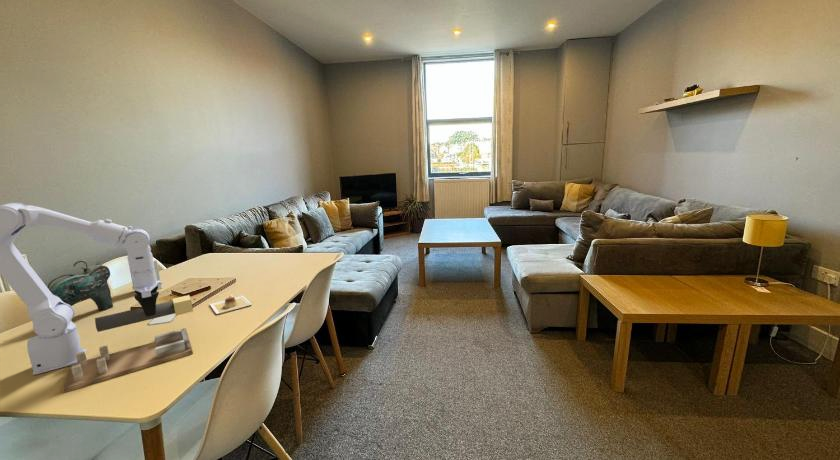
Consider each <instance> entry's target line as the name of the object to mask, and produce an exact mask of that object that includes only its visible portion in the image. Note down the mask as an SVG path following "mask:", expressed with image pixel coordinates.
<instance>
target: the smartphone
mask: <svg viewBox="0 0 840 460" xmlns="http://www.w3.org/2000/svg"><path fill="white" fill-rule="evenodd" d="M178 316H179V315H176V314H170V315H166V316H162V317H158V318H154V319H150V321H149V322H148V323H147V326H155V325H159V324H160V325H161V324H163V325H164V324H170V323H172V322H173V321H174V320H175V319H176V318H177V317H178Z"/></svg>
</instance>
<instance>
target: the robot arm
mask: <svg viewBox="0 0 840 460" xmlns="http://www.w3.org/2000/svg"><path fill="white" fill-rule="evenodd" d="M36 226H49V227H50V226H51V227H55V228H58V229H59V228H61V229H65V230H69V231H70V230H71V231H75V232H79V233H84V234H86V235H87V236H88V238H90V240H92V241H97V242H101V243H105V244H110V245H114V246H118V247H122V246H123V248H124V249H125V250H126V252H127V257H126V258H127V261H128V263H127V264H128V266H129V272H130V278H131V283H132V286H131V288H132V290H134V292H135V293H136V294H135V295H134V299H135V300H136V301H137V302H138V303H139V305H140V306H141V308H143V311H144V313H145V315H146V316H152V315H155V313H156V304H157V299H158V297H159V294H160V292H159V291H158V290H159V289H158V285H159V284H161V285H162V284H163V281H162V279H160V281H157V278H156V273H155V267H154V261H153V260H154V256H153V253H152V252H151V251H152V248H151V246H150V241H151V238H150V234H149V233H148V232H147V231H146V230H144V229H142V228H140V227H134V228H133V226H132V225H128V226H125V225H121V224H117V223H114V222H113V220H111V219H108V218H106V219H105V220H103V219H97V220H95V221H89V220H85V219H82V218H79V217H76V216H73V215H69V214H67V213H66V214H65V213H62V212H58V211H56V210H51V209H49V208H46V207H45V208H44V207H41V206H36V205H30V204H28V205H27V204H24V203H21V202H8V203H4V204H2V205H0V276H2V278H3V279H4V281H5V282H6V283H7V284H8V286H10V288H11V289H12V290H13V291H14V293H15V294H16V295H17V296H18V297H19V299H20V300H21V301H22V302H23V304H25V306H26V307H27V312H28V313H27V314H28V318H29V319H30V320H31V321H32V329H33V331H34V333H35V334H36V336H33V337H30V338H28V339H27V344H26V345H27V346H26V347H27V353H28V357H29V361H30V364H31V369H32V371H33V372H32V375H33V376H35V375H40V374H43V373H46V372H50V371H54V370H57V369H60V368H65V367H68V366H71V365H72V364H75V363H78V362H77V358H76V354H77V353H80V352H83V351H85V355H86V353H87V349H86V348H84V349H82V344H81V340H80V335H79V331H78V327H77V324H76V323H74V322H73V321H72V319H73V318H74V317H75V315H76V314H75V313H76V311H75V309H74V307H73V306H70V305H69V304H66V303H64V302H63V301H62V300H61V299H60V298H59V297H57V296H55V295H53V294H52V293H51V292H50V290H49V289H48V288H47V287H48V286H47V285H46V284H45V282H44V281H43V280H42V279H41V278H40V277H39V275H38V273H36V271H35V270H34V269H33V267H32V266H31V265H30V264H29V262H28V261H27V260H26V258H25V257H24V256H23V254H22V253H21V252H20V251H19V249H18V248H17V247H16V246H15V244H14V242H15V240H16V238H17V237H18V235H19V233H20V232H21V231H22V230H23V229H24V228H33V227H36Z"/></svg>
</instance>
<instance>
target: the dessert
mask: <svg viewBox="0 0 840 460" xmlns="http://www.w3.org/2000/svg"><path fill="white" fill-rule="evenodd" d="M240 299H241V300H242V302H244V304H246V305H243V306H240V307H237V306H238V302H237V300H240ZM221 304H224V305H223V308H225V309H229V310H224V311H222V312H221V311H220V312H219V310H218V309H217V307H216V306H218V305H221ZM252 305H253V303H251V301H249V300H248V299H247V298H246V297H245V295H240V296H235V297H234V295H231V294H229V295H228V297H226V298H225V299H224V300H220V301H216V302H212V303H209V306H210V307H211V309H212V310H213V311H214V313H215V314H216V315H221V314H224V313H227V312H231V311H235V310H240V309H243V308H247V307H250V306H252ZM234 307H235V308H234ZM236 307H237V308H236ZM230 308H233V309H230Z"/></svg>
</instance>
